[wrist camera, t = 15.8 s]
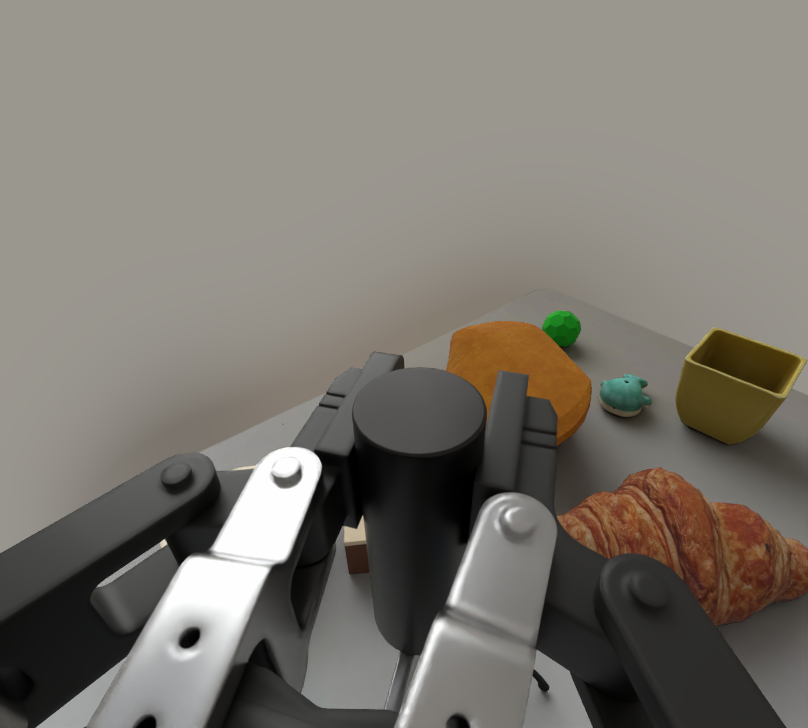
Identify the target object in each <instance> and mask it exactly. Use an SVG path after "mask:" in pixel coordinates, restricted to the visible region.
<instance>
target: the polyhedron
mask: <svg viewBox="0 0 808 728" xmlns="http://www.w3.org/2000/svg"><path fill="white" fill-rule="evenodd" d="M542 330H543V331H544V332H545V333H546V334H547V335H548V336H549V337H550V338H551V339H552V340H553V341H554V342H555V343H556V344H557V345H558V346H561V347H567V346H569V345H571V344H573V343H574V342H575V341H576V339H577V337H578V335H579V334H580V331H581V326H580V321H579V320H578V318H577V317H576V316H574V315H573V314H572V313H571V312H568V311H556V312H554V313H552V314H550V315H549V316H548V317H547V318H546V320H545V322H544V324H543V327H542Z"/></svg>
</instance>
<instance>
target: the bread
mask: <svg viewBox="0 0 808 728" xmlns="http://www.w3.org/2000/svg"><path fill="white" fill-rule="evenodd" d="M499 370H501V371H508V372H515V373H521V374H528V375H529V380H528V388H527V396H531V397H537V398H543V399H549V400H550V402H551V404H552V406H553V408H554V410H555V412H556V413H557V415H558V422H557V445H556V446H558V445H560V444H561V443H562V442H564V441H565V440H567V439H568V438H570V437H571V436H572V435H573V434H574V433H575V432H576V431H577V430H578V428H579V427H580V426H581V425H582V423H583V422H584V420H585V418H586V415H587V412H588V409H589V407H590V401H591V393H592V387H591V380H590V379H589V378H588V377H587V375H586V374H585V373H584V372H583V371H582V370H581V369H580V368H579V367H578V366H577V365H576V364H575V363H574V362H573V361H572V360H571V359H570V358H569V357H568V356H567V354H566V353H565V352H564V351H563V350H562V349H561V348H560V347H559V346H558V345H557V344H556V343H555V342H554V341H553V340H552V339H551V338H550V337H549V336H548V335H547V334H546V333H545V332H544V331H542V330H541V329H539V328H538V327H536V326H535V325H532V324H528V323H523V322H513V321H495V322H488V323H483V324H480V325H474V326H469V327H466V328H463V329H460V330H458V331H457V332H455V333H454V334H453V336H452V339H451V342H450V352H449V361H448V365H447V369H446V371H447V372H450V373H453V374H455V375H458V376H460V377H462V378H463V379H465V380H467V381H468V382H469V383H471V384H472V385H473V386H474V387H475V388H476V389H477V390H478V391H479V393H480V394H481V395H482V397H483V399H484V401H485V404H486V408H487V420H488V416H489V411H490V407H491V402H492V398H493V393H494V388H495V384H496V379H497V375H498V371H499ZM486 425H487V421H486Z"/></svg>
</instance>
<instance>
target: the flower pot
mask: <svg viewBox="0 0 808 728" xmlns="http://www.w3.org/2000/svg"><path fill="white" fill-rule="evenodd" d="M806 362H807V359H805V358H803V357H800V356H798V355H796V354H793V353H790V352H787V351H785V350H782V349H779V348H776V347H773V346H770V345H767V344H764V343H761V342H758V341H755V340H752V339H749V338H746V337H744V336H740V335H737V334H734V333H732V332H729V331H725V330H722V329H719V328H712V329H711V330H710V331H709V332H708V333H707V335H706V336H705V337H704V338H703V339H702V340H701V342H700V343H699V344H698V345H697V346H696V347H695V348H694V349H693V350H692V351H691V352H690V353H689V354H688V355H687V356H686V358H685V361H684V364H683V368H682V372H681V376H680V380H679V384H678V387H677V392H676V408H677V412H678V415H679V417H680V419H681V421H682V422H683V423H684V424H685V425H687V426H690V427H692V428H694V429H696V430H698V431H700V432H702V433H705V434H707V435H709V436H711V437H713V438H715V439H717V440H719V441H721V442H723V443H726V444H728V445H732V444H736V443H739V442H742V441H744V440H746V439H748V438H750V437H752V436H753V435H754V434H756V433H757V432H758V431H759V430H760V429H761V428H762V427H763V426H764V425H765V423H766V422H767V421H768V420H769V419H770V417H771V416H772V415H773V414H774V412H775V411H776V410H777V409H778V407H779V406H780V405H781V404H782V403H783V401H784V400H785V399H786V398H787V396H788V394H789V392H790V390H791V389H792V387H793V385H794V383H795V381H796V380H797V378H798V376H799V375H800V373H801V371H802V369H803V368H804V366H805V364H806Z"/></svg>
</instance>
